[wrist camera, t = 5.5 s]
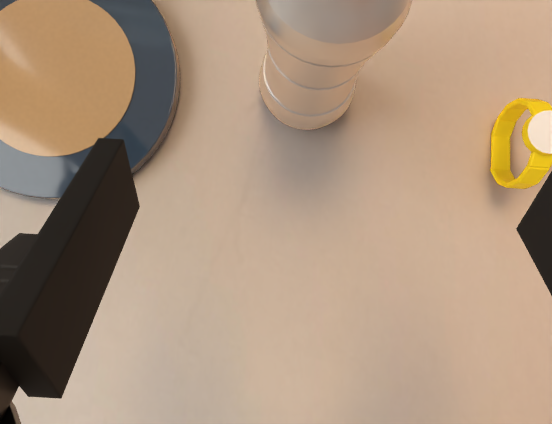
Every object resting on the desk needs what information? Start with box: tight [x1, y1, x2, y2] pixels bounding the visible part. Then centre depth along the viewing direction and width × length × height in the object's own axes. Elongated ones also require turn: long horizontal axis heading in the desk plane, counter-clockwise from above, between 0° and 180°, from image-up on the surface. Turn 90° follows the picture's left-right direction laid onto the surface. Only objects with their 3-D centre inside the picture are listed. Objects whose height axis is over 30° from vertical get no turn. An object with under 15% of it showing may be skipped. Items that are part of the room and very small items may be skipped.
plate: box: [0, 0, 180, 199], centre depth 31 cm, size 18×18×1 cm
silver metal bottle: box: [256, 0, 412, 130], centre depth 22 cm, size 6×7×20 cm
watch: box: [490, 98, 552, 189], centre depth 29 cm, size 6×3×6 cm, turn 176°
